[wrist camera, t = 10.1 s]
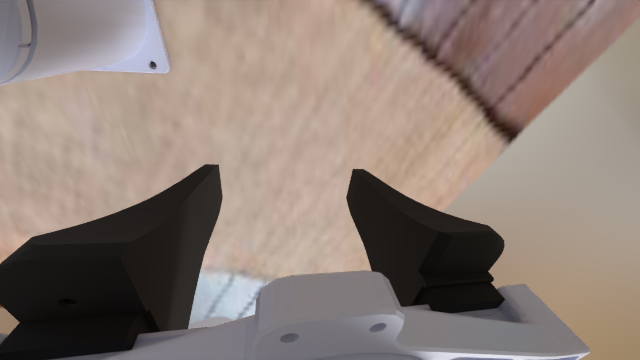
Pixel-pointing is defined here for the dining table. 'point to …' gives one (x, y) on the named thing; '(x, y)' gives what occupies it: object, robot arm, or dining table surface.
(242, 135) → the dining table surface
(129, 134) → the dining table surface
